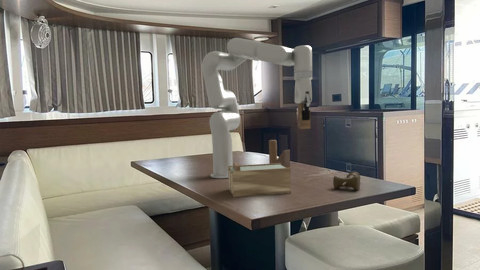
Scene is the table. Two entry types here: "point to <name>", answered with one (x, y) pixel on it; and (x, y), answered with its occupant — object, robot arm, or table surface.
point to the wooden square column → (301, 123)
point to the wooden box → (259, 181)
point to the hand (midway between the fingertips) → (304, 119)
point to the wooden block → (283, 158)
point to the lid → (254, 167)
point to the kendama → (347, 181)
